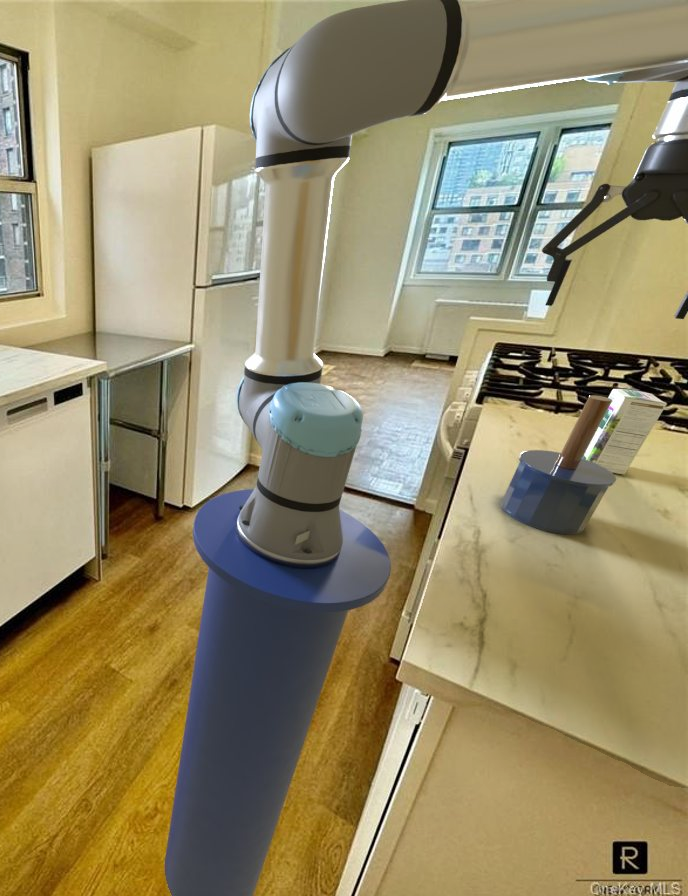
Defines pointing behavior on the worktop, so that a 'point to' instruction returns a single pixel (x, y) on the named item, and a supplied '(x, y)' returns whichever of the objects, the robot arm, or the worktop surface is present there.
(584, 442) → the lid
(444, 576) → the worktop surface
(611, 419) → the syrup box
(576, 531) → the pot
